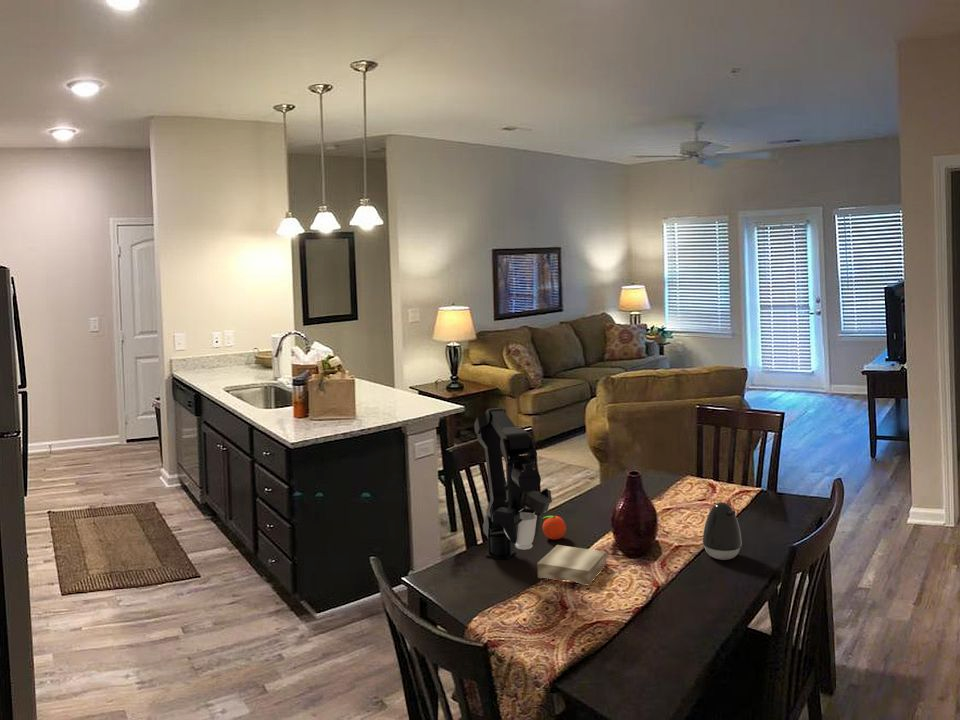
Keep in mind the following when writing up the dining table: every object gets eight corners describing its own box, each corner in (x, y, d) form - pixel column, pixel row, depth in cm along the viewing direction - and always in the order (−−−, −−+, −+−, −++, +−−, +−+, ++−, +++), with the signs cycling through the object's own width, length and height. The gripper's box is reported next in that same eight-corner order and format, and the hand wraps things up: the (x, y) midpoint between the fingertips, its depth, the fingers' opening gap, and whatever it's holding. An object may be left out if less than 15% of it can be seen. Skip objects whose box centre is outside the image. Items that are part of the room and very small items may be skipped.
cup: (526, 553, 199) (525, 522, 198) (496, 544, 206) (495, 514, 205) (543, 545, 204) (542, 515, 203) (513, 537, 211) (512, 508, 210)
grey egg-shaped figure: (717, 566, 210) (717, 510, 208) (695, 552, 220) (695, 499, 218) (750, 560, 213) (750, 505, 211) (726, 547, 223) (726, 495, 221)
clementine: (536, 541, 233) (535, 518, 232) (543, 533, 240) (542, 510, 239) (562, 544, 230) (561, 520, 229) (569, 536, 236) (568, 513, 235)
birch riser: (537, 577, 207) (537, 563, 206) (557, 558, 219) (557, 544, 219) (588, 586, 201) (588, 571, 200) (606, 566, 213) (606, 551, 212)
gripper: (530, 494, 191) (532, 556, 193) (560, 474, 207) (562, 532, 209) (489, 489, 196) (491, 550, 198) (522, 470, 212) (523, 526, 214)
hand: (519, 539), depth 205 cm, fingers closed on cup, 6 cm apart
